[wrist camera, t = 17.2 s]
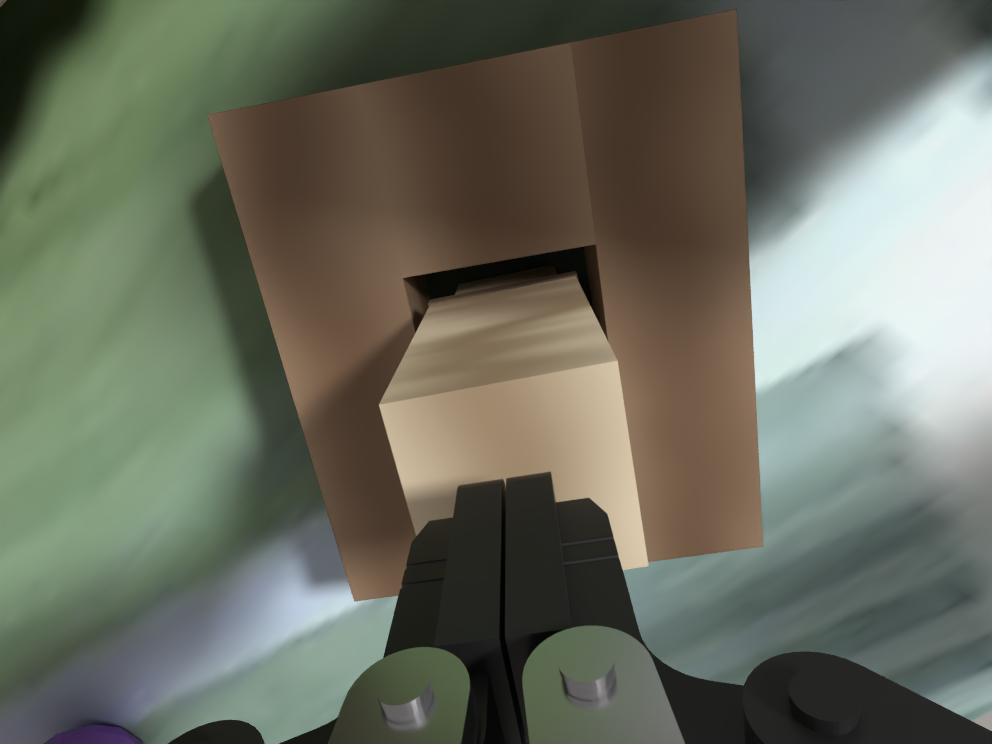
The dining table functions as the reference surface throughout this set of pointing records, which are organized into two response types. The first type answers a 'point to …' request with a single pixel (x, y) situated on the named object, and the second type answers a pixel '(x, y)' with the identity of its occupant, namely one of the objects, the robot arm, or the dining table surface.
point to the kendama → (95, 736)
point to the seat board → (513, 234)
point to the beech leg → (514, 401)
